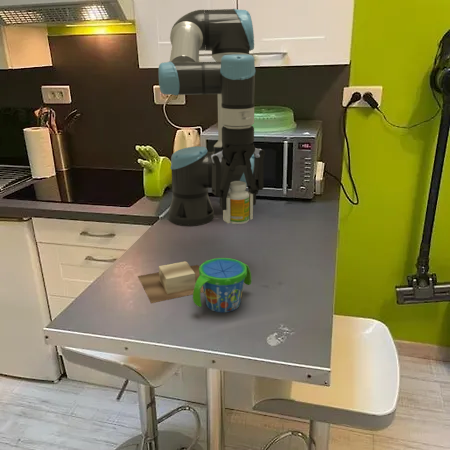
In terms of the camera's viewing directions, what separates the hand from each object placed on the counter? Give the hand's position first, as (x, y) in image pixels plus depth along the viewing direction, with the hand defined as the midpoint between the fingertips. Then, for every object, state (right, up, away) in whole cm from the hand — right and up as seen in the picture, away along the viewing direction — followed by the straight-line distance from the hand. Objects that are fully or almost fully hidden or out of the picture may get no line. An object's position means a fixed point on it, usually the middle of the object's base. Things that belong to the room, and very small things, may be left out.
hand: (237, 219), depth 120 cm
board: (-15, -17, -1) cm, 23 cm away
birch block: (-15, -16, -2) cm, 22 cm away
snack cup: (-4, -20, -10) cm, 23 cm away
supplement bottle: (0, 0, 0) cm, 1 cm away
